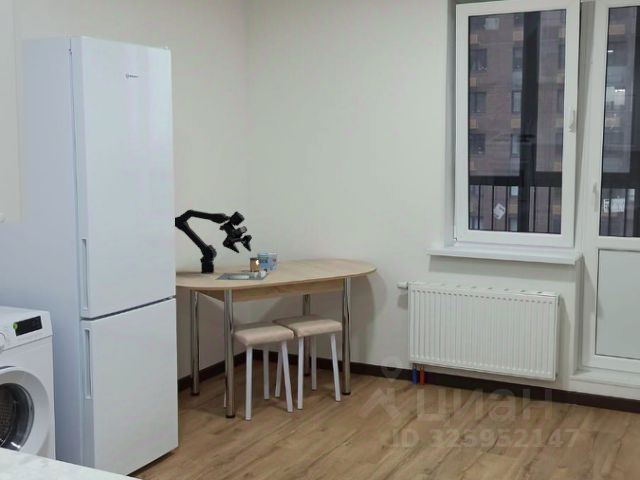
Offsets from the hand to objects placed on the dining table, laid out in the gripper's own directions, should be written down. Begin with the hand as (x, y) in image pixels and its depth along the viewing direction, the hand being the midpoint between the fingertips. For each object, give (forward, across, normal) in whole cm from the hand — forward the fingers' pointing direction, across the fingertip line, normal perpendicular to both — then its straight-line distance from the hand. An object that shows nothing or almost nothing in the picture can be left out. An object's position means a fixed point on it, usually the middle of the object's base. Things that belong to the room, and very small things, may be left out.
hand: (244, 252), depth 434 cm
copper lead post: (+14, 0, +4) cm, 15 cm away
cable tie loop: (+15, 0, +3) cm, 15 cm away
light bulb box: (+10, +18, +10) cm, 22 cm away
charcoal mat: (+12, -6, +6) cm, 15 cm away
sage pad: (+14, -11, +4) cm, 19 cm away
